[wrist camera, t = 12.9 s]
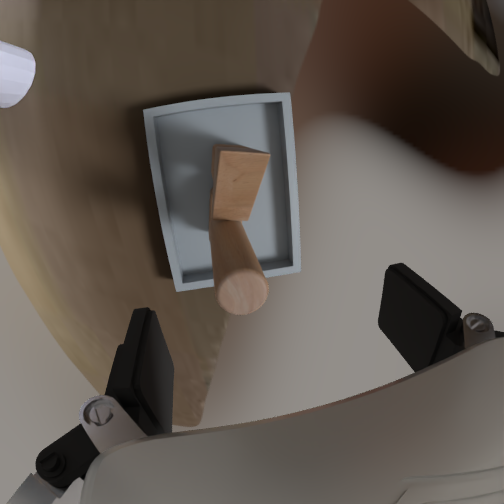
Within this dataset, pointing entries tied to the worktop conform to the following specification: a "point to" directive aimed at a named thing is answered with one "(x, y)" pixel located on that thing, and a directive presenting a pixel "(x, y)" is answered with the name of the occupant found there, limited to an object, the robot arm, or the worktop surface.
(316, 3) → the worktop surface
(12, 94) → the soap bottle
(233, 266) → the wooden mallet
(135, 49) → the worktop surface
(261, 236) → the tray
